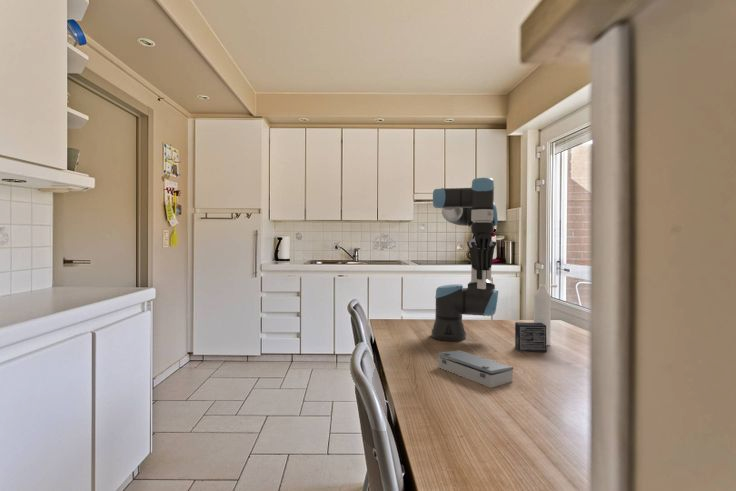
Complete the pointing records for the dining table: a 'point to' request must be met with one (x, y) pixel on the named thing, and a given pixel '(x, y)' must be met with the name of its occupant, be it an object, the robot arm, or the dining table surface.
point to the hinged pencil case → (476, 373)
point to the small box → (530, 337)
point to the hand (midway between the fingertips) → (481, 288)
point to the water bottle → (543, 309)
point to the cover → (476, 361)
